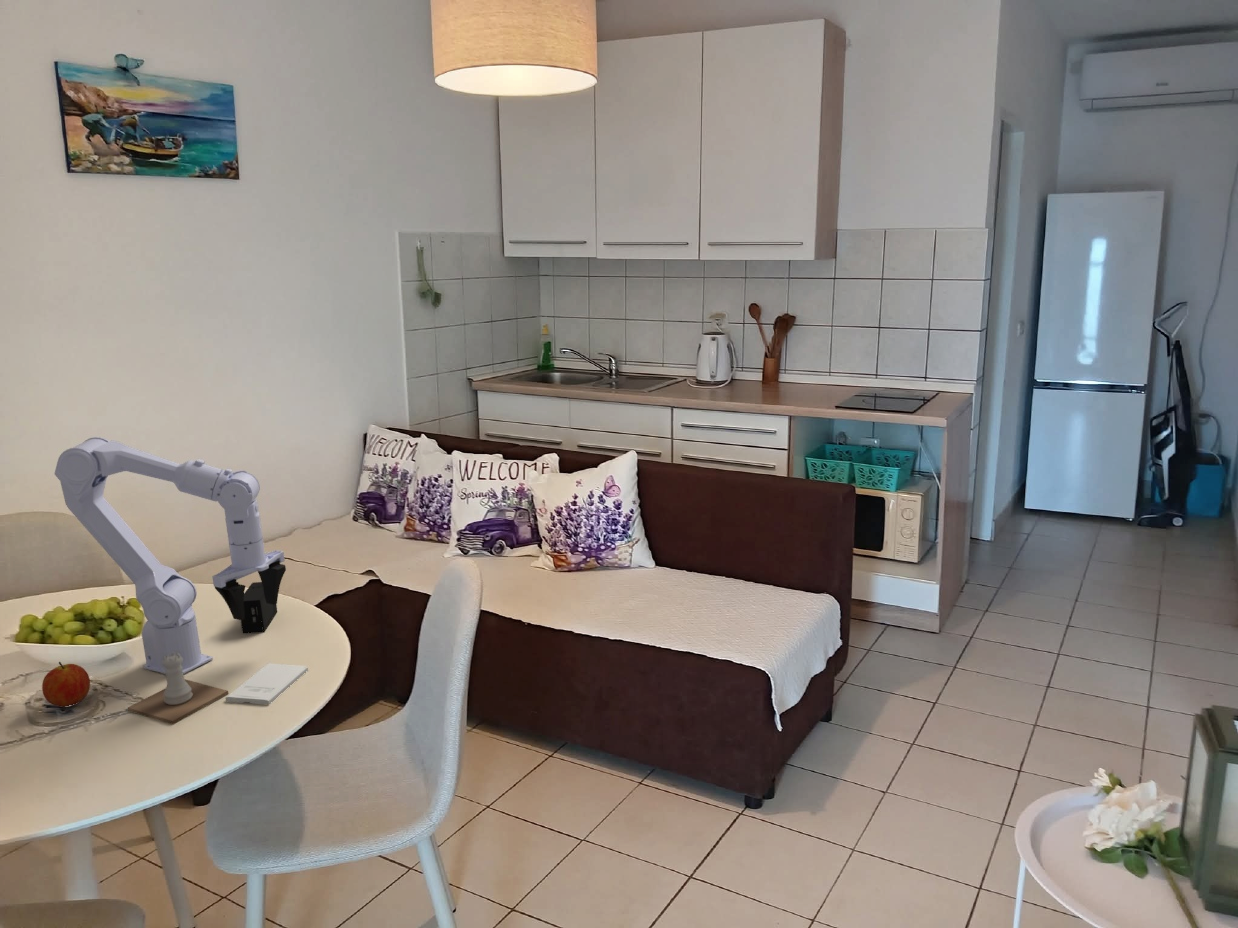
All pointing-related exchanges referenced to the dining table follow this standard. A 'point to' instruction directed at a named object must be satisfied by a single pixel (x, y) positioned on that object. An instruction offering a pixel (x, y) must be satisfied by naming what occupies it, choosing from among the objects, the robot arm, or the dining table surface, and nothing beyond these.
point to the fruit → (66, 685)
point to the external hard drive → (267, 684)
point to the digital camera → (256, 610)
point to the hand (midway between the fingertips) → (255, 610)
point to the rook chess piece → (175, 681)
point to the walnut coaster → (174, 713)
